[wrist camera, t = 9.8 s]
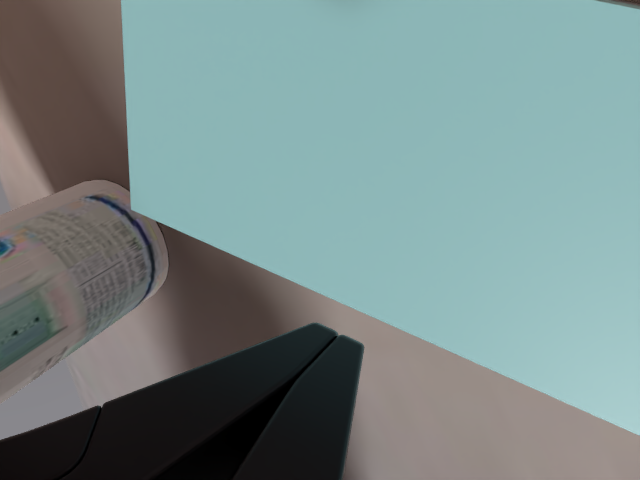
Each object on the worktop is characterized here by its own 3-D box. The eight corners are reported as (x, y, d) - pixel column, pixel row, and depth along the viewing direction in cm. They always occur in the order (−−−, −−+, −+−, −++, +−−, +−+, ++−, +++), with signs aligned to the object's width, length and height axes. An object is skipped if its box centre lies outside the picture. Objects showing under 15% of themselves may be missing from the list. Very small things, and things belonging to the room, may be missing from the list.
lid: (815, 487, 11) (826, 518, 11) (149, 200, 17) (131, 209, 17) (1206, 119, 7) (1264, 135, 6) (141, -94, 13) (116, -97, 12)
